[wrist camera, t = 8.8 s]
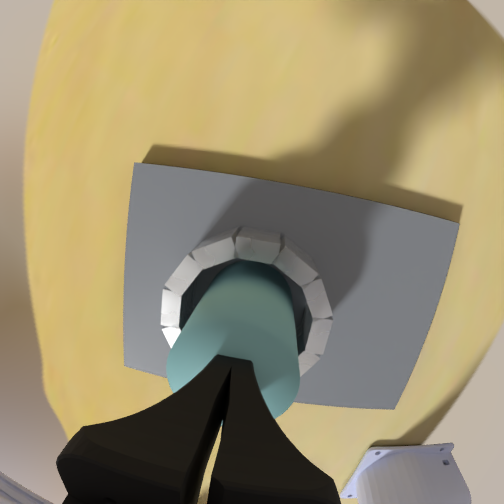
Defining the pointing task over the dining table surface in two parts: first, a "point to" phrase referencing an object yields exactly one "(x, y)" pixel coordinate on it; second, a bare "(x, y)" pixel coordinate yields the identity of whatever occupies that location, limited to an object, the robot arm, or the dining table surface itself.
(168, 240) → the board
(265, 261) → the grey segmented ring
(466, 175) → the dining table surface
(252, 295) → the plug
